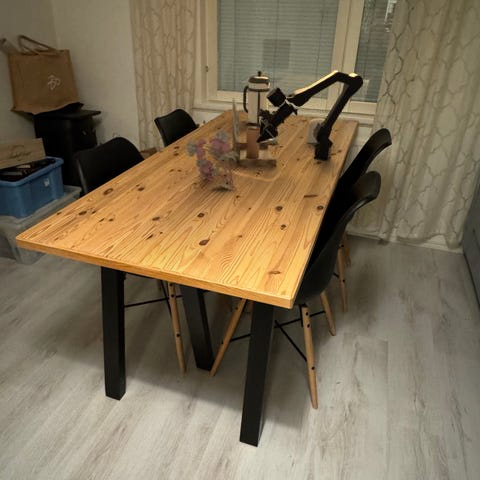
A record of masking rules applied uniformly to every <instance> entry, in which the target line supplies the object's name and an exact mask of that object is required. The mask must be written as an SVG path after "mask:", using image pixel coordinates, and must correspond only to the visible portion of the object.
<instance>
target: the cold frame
mask: <svg viewBox="0 0 480 480" xmlns="http://www.w3.org/2000/svg"><path fill="white" fill-rule="evenodd" d="M235 98H236V97H234V96H232V151H235V152H236V153H237V154H238V155H239V157H240V158H239V157H238V156H234V155H233V156H234V158H235V160H234V163H235V167H236V168H266V167H267V168H268V167H269V168H272V167H273V168H274V167H277V160H278V159H277V158H273V156H272V154H271V151H270V149H269V145H268V141H262V142H260V143H259V157H258V158H255V159H251V158H247V157H246V141H241V139H240V136H239V128H240V126H239V125H240V124H239V117H240V116H239V111H240V110H239V107H238V104H237V101H236V99H235Z"/></svg>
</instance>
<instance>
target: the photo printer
mask: <svg viewBox="0 0 480 480" xmlns="http://www.w3.org/2000/svg"><path fill="white" fill-rule="evenodd" d="M325 119H326V118H321V117H320V118H319V117H318V118H313V119H309V122H308V130H307V138H306V139H307V140H306V142H307V143H308V144H318V142H317V141H316V139H315V138H314V136H313V132H314V130H313V129H315V127H316V126H317V123H318V122H319V123H320V124H321V123H322V122H323V121H324V120H325Z"/></svg>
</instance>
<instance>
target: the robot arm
mask: <svg viewBox="0 0 480 480" xmlns="http://www.w3.org/2000/svg"><path fill="white" fill-rule="evenodd" d="M335 83H342V84H343V85H342V90H341V93H340V94H339V95H338V98H337V99H336V101H335V102H334V104H333V106H332V108H331V109H330V110H329V113H328V114H327V115H326V117H325V118H324V119H325V120H324V121H323V122H322V123H321V124H320V123H319V122H318V123H317V126H316V127H315V129H313V130H314V132H313V136H314V138H315V139H316V141H317V142H318V143H316V146H315V148H314V156H313V158H314V159H317V160H322V161H328V160H329V159H330V158H332V156H331V152H332V151H331V150H332V147H333V145H334V143H333V141H332V140H331V139H330V136H331V134H332V130H333V126H334V124H335V123H336V121H337V120H338V119H339V116H340V115H341V114H342V113H343V110H344V109H345V107H346V105H347V103H348V102H349V101H350V99H351V98H352V97H353V96H354V95H356V94H357V93H358V92H359V90H360V89H361V88H362V87H363V85H364V79H363V77H362V76H361V75H359V74H357V73H350V74H349V73H345V72H341V71H339V70H333V71H332V72H331V73H329V74H327V75H326V76H324V77H322V78H321V79H319V80H317V81H316V82H314V83H311V84H310V85H309V86H307V87H303V88H300V89H297V90H294V91H293V92H291V93H286V94H285V93H284V92H283V91H282V89H281V88H280V87H279V86H276V88H274V89H272V90H270V92H269V94H268V95H267V96H266V98H267V99H268V100H269V104H271V105H272V106H273V107H274V108H277V109H276V110H273V111H270V109H269V110H267V109H264V108H262V107H261V108H260V110H259V112H258V115H259V116H260V117H261V120H262V121H261V120H260V123H259V128H260V137H259V138H258V139H257V141H256V142H257V143H260V142H262V141H265V140H268V139H272V138H276V137H277V138H278V137H279V131H278V127H279V126H280V125H282V124H285V121H286V120H287V119H288V118H289V117H290V116H291V115H292V114H294V115H295V116H298V111H299V109H298V108H300V107H303V106H304V105H305V104H307V103H308V102H309V101H310V100H311V98H313V96H315V95H317V94H319V93H320V92H322V91H324V90H326V89H327V88H329V87H331V86H332V85H334V84H335Z"/></svg>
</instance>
